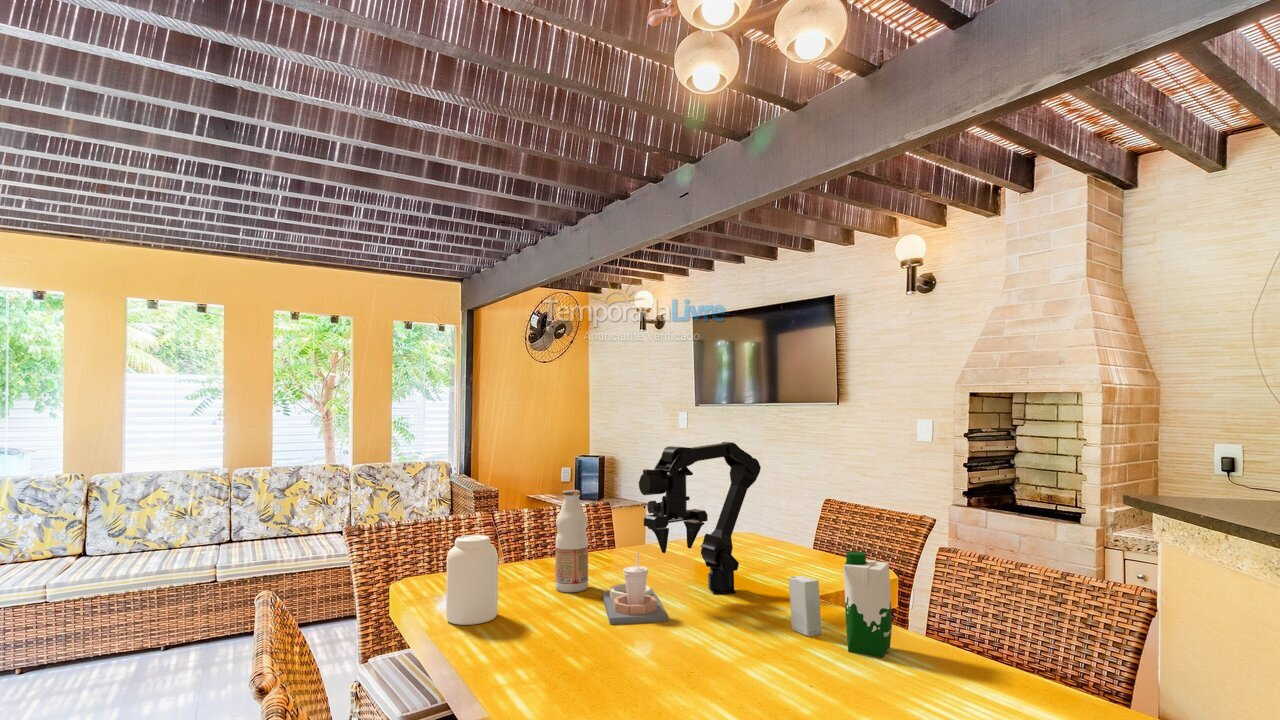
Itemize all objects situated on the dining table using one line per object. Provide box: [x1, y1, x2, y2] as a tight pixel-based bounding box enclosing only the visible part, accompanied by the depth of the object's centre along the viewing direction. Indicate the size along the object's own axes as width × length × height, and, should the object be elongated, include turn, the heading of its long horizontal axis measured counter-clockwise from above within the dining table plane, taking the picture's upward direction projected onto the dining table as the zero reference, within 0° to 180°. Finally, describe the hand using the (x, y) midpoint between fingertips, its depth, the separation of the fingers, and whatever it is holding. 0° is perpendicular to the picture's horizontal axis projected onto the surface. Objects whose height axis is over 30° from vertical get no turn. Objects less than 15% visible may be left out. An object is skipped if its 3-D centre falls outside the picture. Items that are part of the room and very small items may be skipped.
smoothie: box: [622, 551, 649, 605], centre depth 168 cm, size 6×6×14 cm
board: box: [601, 582, 668, 625], centre depth 173 cm, size 14×24×4 cm, turn 8°
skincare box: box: [788, 575, 823, 637], centre depth 153 cm, size 6×4×12 cm
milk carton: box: [842, 550, 893, 659], centre depth 142 cm, size 9×9×20 cm
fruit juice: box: [555, 489, 589, 593], centre depth 193 cm, size 9×9×28 cm
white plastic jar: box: [445, 534, 499, 626], centre depth 167 cm, size 12×12×20 cm
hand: (676, 550), depth 181 cm, fingers open, 9 cm apart
